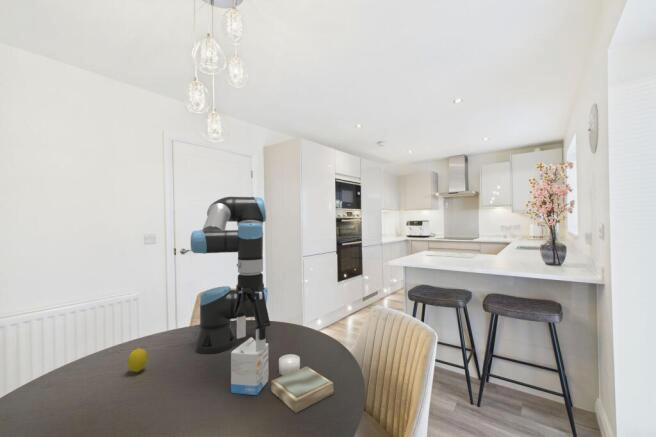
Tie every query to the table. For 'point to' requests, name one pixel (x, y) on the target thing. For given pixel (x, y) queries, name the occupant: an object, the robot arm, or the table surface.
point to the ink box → (248, 368)
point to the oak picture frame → (301, 388)
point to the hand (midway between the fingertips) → (250, 343)
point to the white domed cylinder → (289, 364)
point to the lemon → (137, 360)
